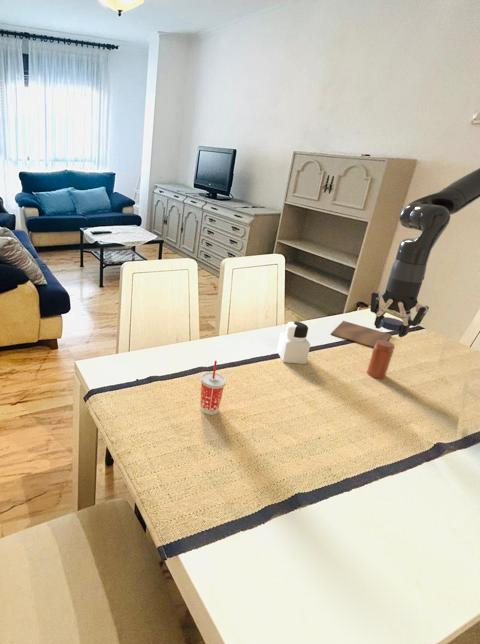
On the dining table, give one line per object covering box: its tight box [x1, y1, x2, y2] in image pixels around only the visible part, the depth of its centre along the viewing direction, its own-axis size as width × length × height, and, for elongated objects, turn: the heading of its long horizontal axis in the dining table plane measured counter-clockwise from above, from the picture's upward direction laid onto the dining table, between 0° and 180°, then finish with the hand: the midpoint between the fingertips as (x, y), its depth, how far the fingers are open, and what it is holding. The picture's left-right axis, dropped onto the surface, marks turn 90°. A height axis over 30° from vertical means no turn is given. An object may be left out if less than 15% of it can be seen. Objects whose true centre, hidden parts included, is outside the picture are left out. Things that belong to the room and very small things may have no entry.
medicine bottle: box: [276, 321, 311, 365], centre depth 122 cm, size 7×7×12 cm
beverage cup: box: [199, 360, 227, 416], centre depth 95 cm, size 6×6×14 cm
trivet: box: [330, 320, 391, 349], centre depth 141 cm, size 16×16×1 cm
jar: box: [366, 340, 395, 380], centre depth 114 cm, size 5×5×11 cm
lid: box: [380, 316, 403, 332], centre depth 111 cm, size 6×6×2 cm
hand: (389, 331), depth 112 cm, fingers closed on lid, 5 cm apart
